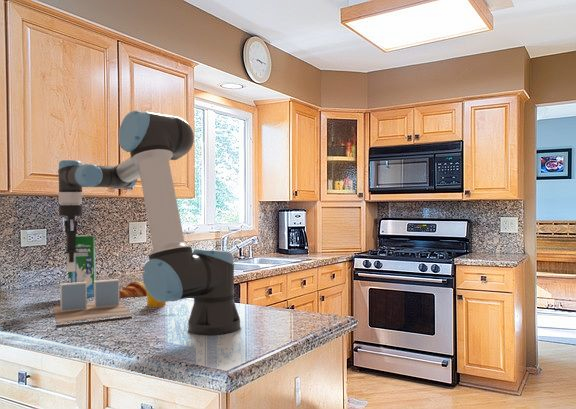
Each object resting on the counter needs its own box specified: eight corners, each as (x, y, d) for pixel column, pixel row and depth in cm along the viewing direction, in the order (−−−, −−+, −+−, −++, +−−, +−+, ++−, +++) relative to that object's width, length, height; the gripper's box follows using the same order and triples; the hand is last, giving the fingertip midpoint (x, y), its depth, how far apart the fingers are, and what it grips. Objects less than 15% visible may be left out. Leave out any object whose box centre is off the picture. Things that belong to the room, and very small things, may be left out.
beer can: (160, 311, 164) (160, 267, 164) (144, 310, 165) (143, 267, 165) (168, 307, 170) (167, 265, 170) (152, 307, 171) (152, 265, 171)
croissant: (157, 301, 199) (152, 283, 202) (171, 292, 194) (165, 273, 196) (110, 309, 183) (105, 289, 185) (124, 299, 177) (118, 279, 180)
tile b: (119, 305, 167) (119, 279, 167) (94, 308, 163) (94, 281, 163) (118, 304, 169) (118, 278, 169) (94, 306, 166) (93, 280, 166)
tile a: (87, 309, 162) (86, 282, 162) (60, 311, 158) (60, 284, 158) (86, 307, 164) (85, 281, 164) (60, 310, 161) (60, 283, 161)
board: (132, 318, 154) (132, 314, 154) (56, 327, 144) (56, 322, 144) (119, 304, 177) (119, 300, 177) (53, 311, 167) (53, 306, 167)
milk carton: (95, 296, 193) (95, 234, 193) (94, 300, 185) (93, 235, 185) (71, 297, 191) (70, 235, 190) (68, 302, 182) (67, 236, 182)
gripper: (83, 204, 164) (84, 273, 165) (80, 204, 176) (81, 268, 176) (59, 204, 161) (60, 274, 161) (58, 204, 172) (58, 269, 173)
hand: (71, 271), depth 169 cm, fingers closed
